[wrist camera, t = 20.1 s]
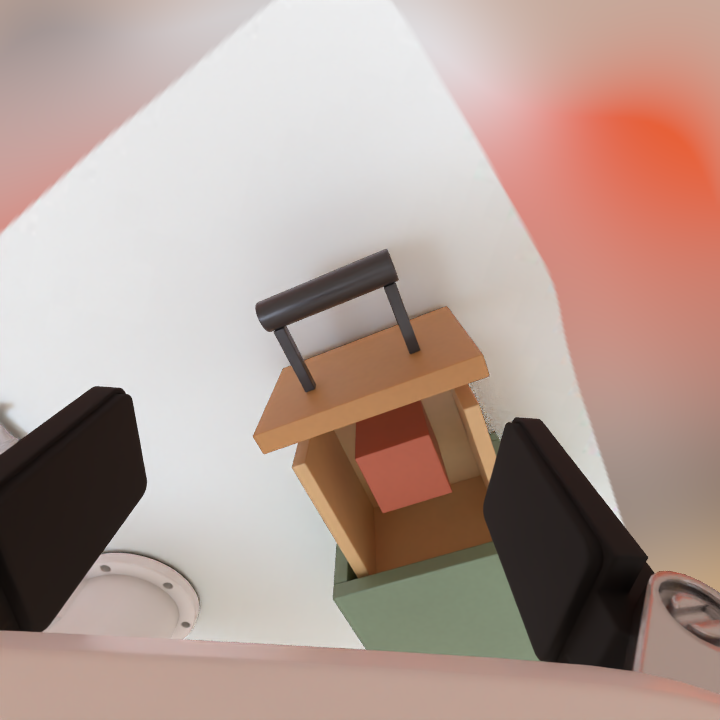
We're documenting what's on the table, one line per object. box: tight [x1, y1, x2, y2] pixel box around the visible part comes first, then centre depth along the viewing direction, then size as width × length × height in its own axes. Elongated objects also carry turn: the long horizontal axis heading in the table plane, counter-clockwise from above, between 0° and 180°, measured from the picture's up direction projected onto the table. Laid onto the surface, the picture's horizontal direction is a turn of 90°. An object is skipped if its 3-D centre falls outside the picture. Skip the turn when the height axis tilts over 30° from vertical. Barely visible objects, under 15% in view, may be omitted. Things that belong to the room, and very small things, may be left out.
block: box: [355, 400, 452, 513], centre depth 24 cm, size 4×4×5 cm
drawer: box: [253, 249, 496, 578], centre depth 23 cm, size 19×12×8 cm, turn 22°
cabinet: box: [333, 432, 545, 662], centre depth 28 cm, size 15×13×10 cm
